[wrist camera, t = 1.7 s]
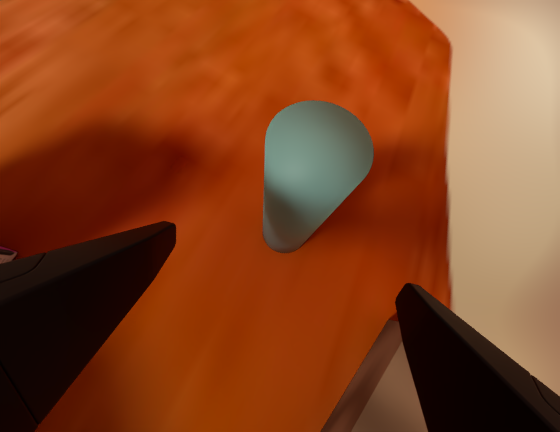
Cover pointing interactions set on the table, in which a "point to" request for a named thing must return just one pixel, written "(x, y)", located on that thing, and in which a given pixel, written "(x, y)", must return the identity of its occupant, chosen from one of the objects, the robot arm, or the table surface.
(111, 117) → the table surface
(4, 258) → the candy bar box
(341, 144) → the rod
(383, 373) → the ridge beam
